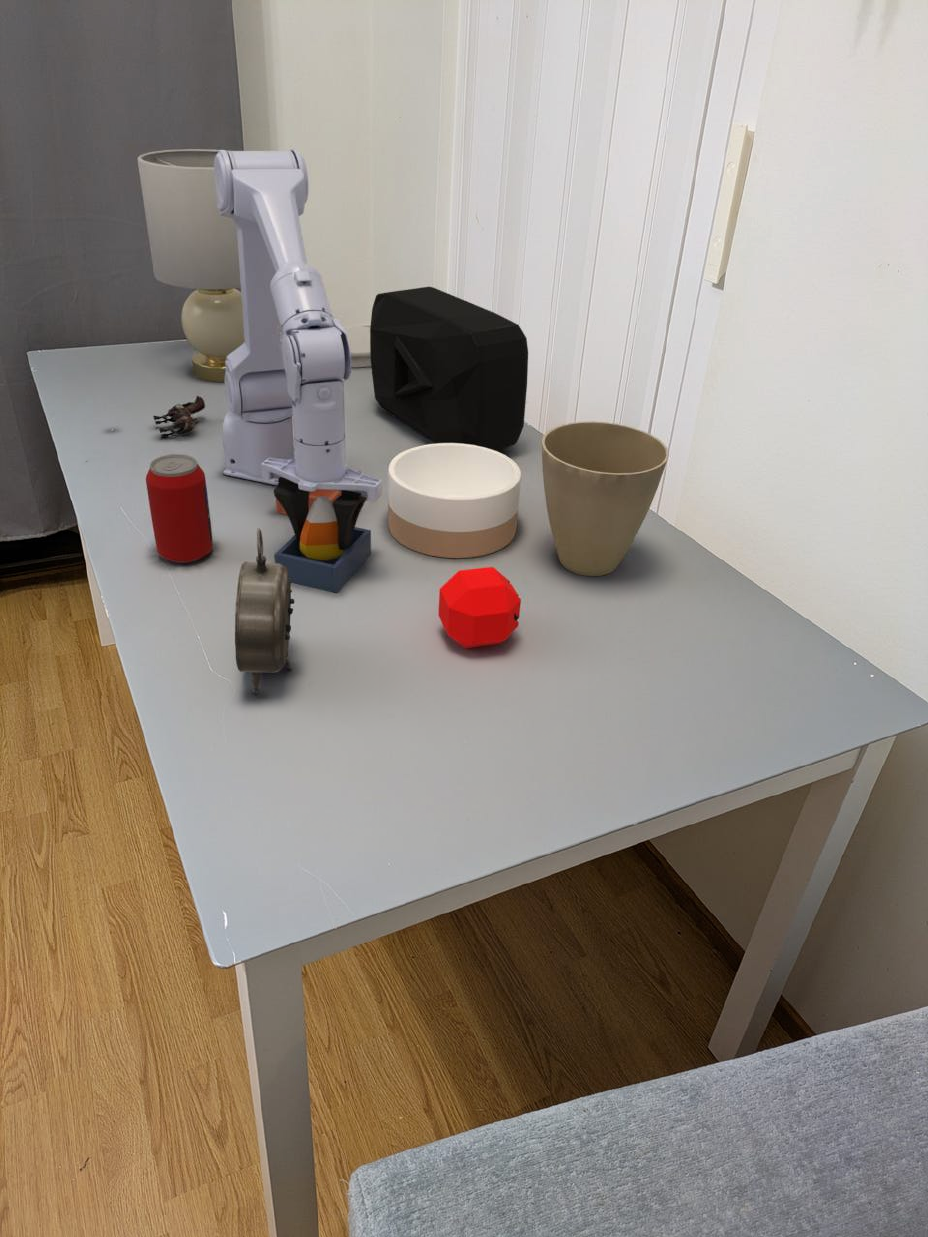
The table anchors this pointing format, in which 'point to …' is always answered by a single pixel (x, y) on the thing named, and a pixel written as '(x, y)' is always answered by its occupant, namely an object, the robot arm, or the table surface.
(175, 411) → the horse figurine
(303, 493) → the robot arm
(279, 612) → the alarm clock
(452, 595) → the ball
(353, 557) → the slate bin
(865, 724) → the table surface
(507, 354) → the black hard case
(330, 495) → the terracotta bin
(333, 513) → the candy corn
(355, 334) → the lid
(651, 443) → the plant pot
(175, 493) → the beverage can
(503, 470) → the bowl
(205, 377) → the lamp
